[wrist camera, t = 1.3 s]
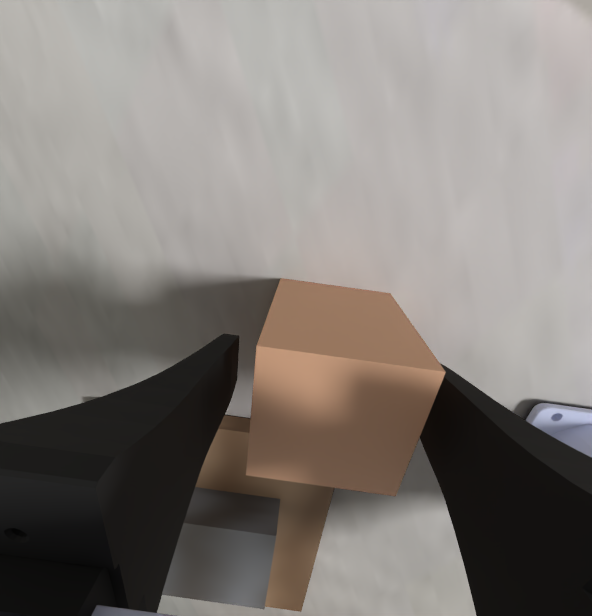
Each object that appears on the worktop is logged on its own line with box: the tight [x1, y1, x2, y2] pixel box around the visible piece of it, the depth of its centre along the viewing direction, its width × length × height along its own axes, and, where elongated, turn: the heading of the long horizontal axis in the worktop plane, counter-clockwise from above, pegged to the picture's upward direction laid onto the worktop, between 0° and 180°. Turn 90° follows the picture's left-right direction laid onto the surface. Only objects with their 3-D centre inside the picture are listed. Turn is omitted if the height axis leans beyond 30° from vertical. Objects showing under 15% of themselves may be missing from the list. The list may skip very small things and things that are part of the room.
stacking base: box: [162, 415, 334, 611], centre depth 19 cm, size 14×18×3 cm
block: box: [246, 278, 446, 496], centre depth 11 cm, size 5×5×6 cm
